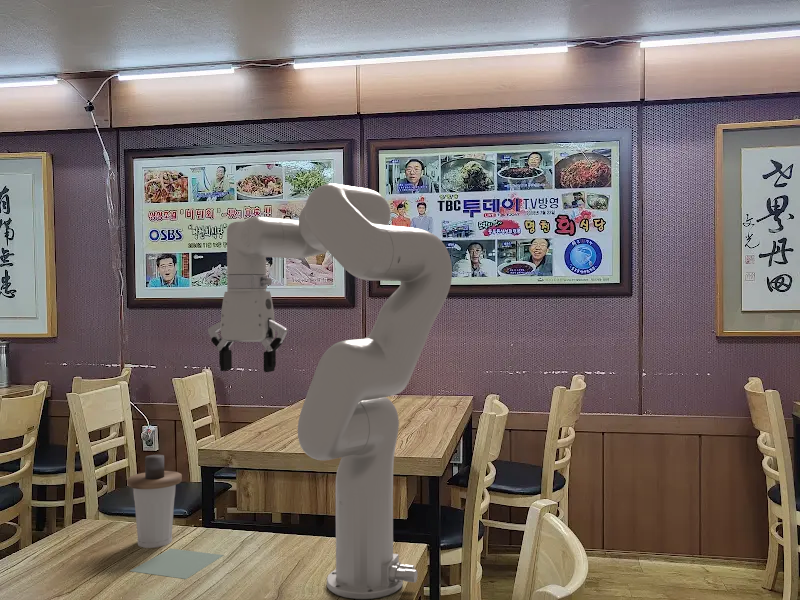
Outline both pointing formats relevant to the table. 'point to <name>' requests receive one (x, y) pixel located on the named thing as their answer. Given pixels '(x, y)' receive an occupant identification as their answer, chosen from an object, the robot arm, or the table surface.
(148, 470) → the lid
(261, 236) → the robot arm
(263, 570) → the table surface
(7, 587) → the table surface
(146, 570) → the mat
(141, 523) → the cup
